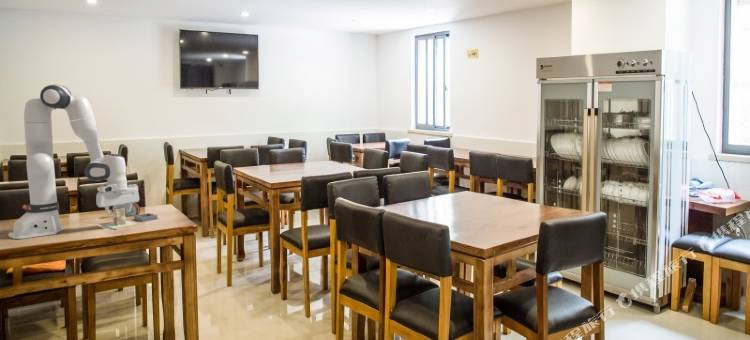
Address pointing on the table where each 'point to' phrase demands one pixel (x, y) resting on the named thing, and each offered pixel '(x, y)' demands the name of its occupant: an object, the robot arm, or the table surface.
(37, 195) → the robot arm
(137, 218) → the pocket holder
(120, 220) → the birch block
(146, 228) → the table surface
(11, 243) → the table surface
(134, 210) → the tin
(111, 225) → the green board
